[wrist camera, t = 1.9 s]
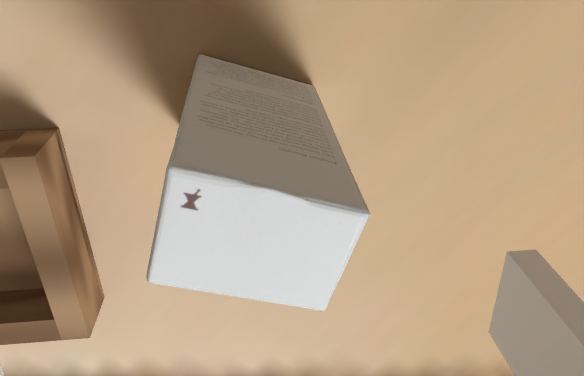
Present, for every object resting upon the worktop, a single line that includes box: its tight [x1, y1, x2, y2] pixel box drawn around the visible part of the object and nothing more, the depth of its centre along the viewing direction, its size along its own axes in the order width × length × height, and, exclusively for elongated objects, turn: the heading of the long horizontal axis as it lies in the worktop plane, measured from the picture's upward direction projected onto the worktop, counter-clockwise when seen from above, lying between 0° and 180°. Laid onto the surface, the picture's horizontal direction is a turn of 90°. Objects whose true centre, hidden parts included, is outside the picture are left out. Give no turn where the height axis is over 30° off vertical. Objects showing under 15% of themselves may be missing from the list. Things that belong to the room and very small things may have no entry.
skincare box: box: [147, 54, 370, 311], centre depth 20 cm, size 6×4×12 cm
